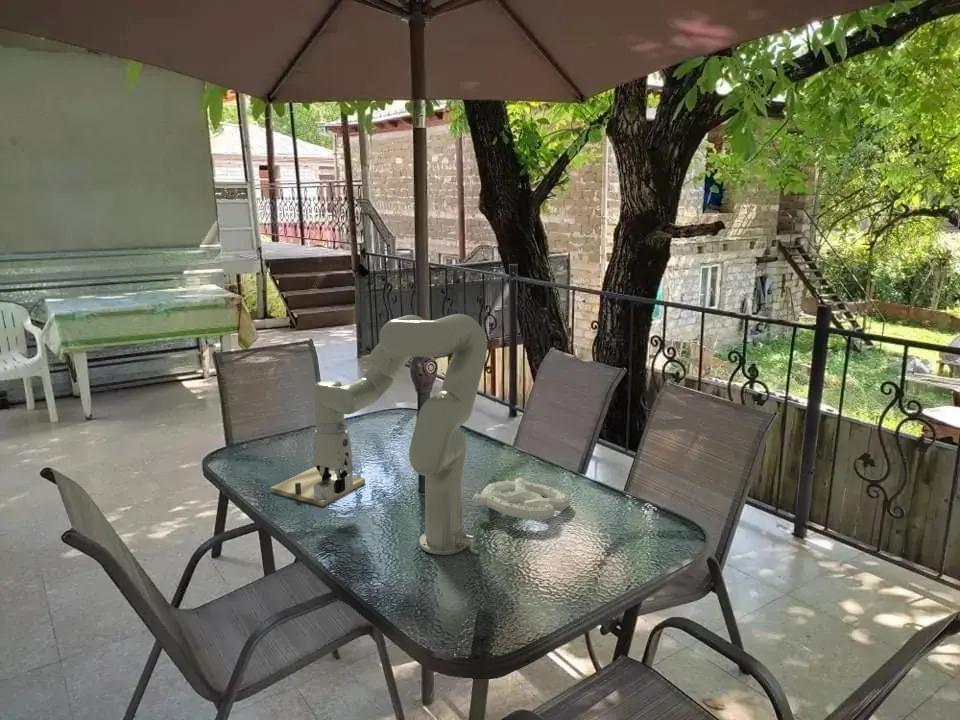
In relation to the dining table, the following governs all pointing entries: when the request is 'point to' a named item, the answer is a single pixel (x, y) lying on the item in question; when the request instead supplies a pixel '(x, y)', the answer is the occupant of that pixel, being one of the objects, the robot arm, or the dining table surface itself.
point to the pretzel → (522, 499)
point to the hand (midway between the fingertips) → (333, 489)
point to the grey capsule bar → (330, 487)
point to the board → (309, 487)
